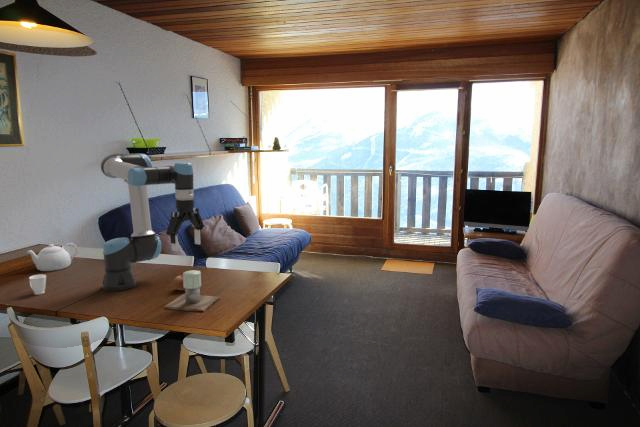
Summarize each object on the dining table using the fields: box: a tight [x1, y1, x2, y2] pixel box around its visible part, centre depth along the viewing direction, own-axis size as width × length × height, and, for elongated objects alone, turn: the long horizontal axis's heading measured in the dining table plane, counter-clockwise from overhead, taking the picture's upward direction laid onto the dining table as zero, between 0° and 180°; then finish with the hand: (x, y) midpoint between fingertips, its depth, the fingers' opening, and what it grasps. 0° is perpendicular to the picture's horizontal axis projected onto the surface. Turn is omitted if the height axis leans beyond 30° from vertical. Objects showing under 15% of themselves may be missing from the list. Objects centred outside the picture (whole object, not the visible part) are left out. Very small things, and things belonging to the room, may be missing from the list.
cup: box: [28, 273, 47, 295], centre depth 206 cm, size 7×10×8 cm
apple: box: [173, 274, 185, 291], centre depth 210 cm, size 8×8×8 cm
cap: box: [182, 269, 202, 289], centre depth 190 cm, size 7×7×6 cm
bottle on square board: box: [164, 286, 221, 313], centre depth 191 cm, size 18×16×12 cm
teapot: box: [26, 242, 79, 272], centre depth 248 cm, size 19×18×14 cm
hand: (186, 247), depth 191 cm, fingers open, 13 cm apart
